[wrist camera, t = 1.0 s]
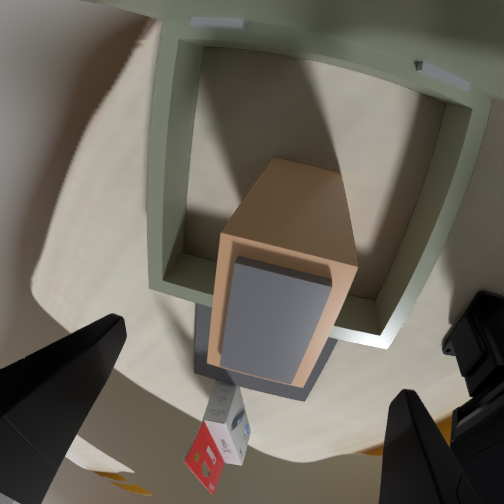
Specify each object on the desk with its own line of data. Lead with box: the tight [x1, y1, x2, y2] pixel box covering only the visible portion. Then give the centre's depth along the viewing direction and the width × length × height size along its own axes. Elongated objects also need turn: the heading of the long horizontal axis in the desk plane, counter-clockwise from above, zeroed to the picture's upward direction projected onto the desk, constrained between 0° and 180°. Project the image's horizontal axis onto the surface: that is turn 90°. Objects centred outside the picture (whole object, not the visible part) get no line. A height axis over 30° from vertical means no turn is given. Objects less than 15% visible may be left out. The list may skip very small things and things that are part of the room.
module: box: [207, 157, 358, 388], centre depth 14 cm, size 4×6×10 cm, turn 171°
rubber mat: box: [194, 303, 338, 402], centre depth 25 cm, size 11×11×1 cm
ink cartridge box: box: [184, 380, 251, 495], centre depth 27 cm, size 2×11×10 cm, turn 7°
